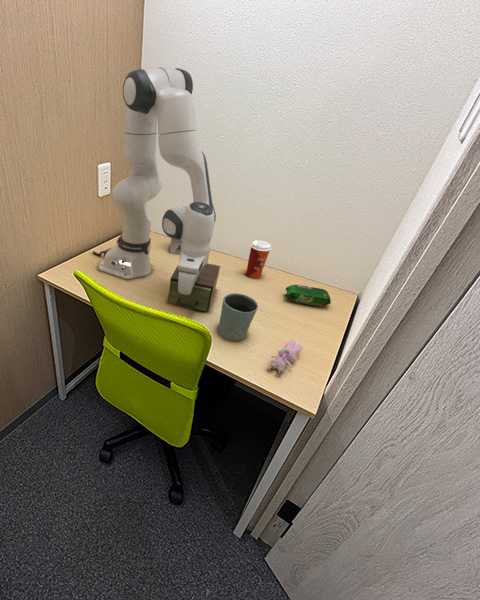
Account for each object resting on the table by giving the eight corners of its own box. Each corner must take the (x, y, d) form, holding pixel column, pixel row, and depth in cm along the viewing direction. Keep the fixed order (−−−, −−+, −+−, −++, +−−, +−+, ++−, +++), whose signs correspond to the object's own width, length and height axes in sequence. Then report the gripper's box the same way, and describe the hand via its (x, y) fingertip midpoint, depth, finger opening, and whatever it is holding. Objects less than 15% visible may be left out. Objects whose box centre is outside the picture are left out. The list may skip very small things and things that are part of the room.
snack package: (281, 292, 128) (285, 280, 125) (327, 299, 124) (332, 288, 121) (282, 302, 123) (286, 290, 120) (330, 310, 119) (336, 298, 116)
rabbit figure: (282, 382, 93) (307, 351, 100) (287, 369, 89) (312, 337, 96) (261, 370, 97) (286, 341, 104) (265, 357, 93) (290, 327, 100)
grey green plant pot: (214, 321, 113) (220, 292, 106) (245, 323, 112) (253, 294, 106) (219, 341, 105) (226, 310, 98) (252, 344, 104) (262, 313, 97)
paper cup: (256, 281, 135) (266, 249, 127) (239, 274, 140) (247, 243, 132) (266, 275, 139) (276, 244, 131) (249, 268, 144) (257, 237, 136)
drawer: (204, 318, 113) (208, 296, 108) (165, 309, 118) (168, 287, 113) (213, 290, 128) (217, 270, 123) (178, 283, 132) (181, 263, 127)
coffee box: (170, 244, 163) (174, 212, 154) (184, 245, 162) (188, 213, 153) (169, 252, 156) (173, 219, 147) (183, 254, 155) (188, 220, 146)
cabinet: (208, 312, 118) (213, 286, 112) (167, 302, 123) (170, 277, 116) (215, 289, 130) (220, 265, 124) (178, 282, 134) (181, 258, 128)
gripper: (192, 241, 115) (187, 276, 123) (176, 267, 100) (171, 305, 108) (210, 244, 113) (204, 279, 121) (197, 271, 98) (191, 310, 106)
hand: (189, 292), depth 114 cm, fingers closed
